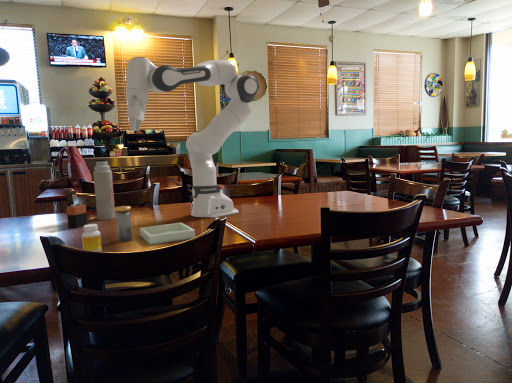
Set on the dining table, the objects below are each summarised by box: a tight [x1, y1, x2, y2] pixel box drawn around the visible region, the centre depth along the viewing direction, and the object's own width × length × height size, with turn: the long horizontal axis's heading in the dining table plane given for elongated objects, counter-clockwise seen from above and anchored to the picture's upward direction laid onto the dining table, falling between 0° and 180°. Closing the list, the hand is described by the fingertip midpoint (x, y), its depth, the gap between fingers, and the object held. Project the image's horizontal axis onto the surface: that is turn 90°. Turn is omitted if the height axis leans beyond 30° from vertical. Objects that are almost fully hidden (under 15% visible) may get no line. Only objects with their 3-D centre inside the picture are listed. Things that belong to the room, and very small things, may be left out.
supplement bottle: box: [81, 223, 103, 252], centre depth 118 cm, size 5×5×10 cm
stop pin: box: [114, 205, 133, 243], centre depth 135 cm, size 6×6×12 cm
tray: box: [139, 222, 196, 246], centre depth 139 cm, size 16×16×3 cm
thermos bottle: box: [92, 158, 116, 221], centre depth 178 cm, size 8×8×28 cm
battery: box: [66, 202, 88, 229], centre depth 163 cm, size 4×7×10 cm, turn 160°
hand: (135, 131), depth 158 cm, fingers open, 8 cm apart
